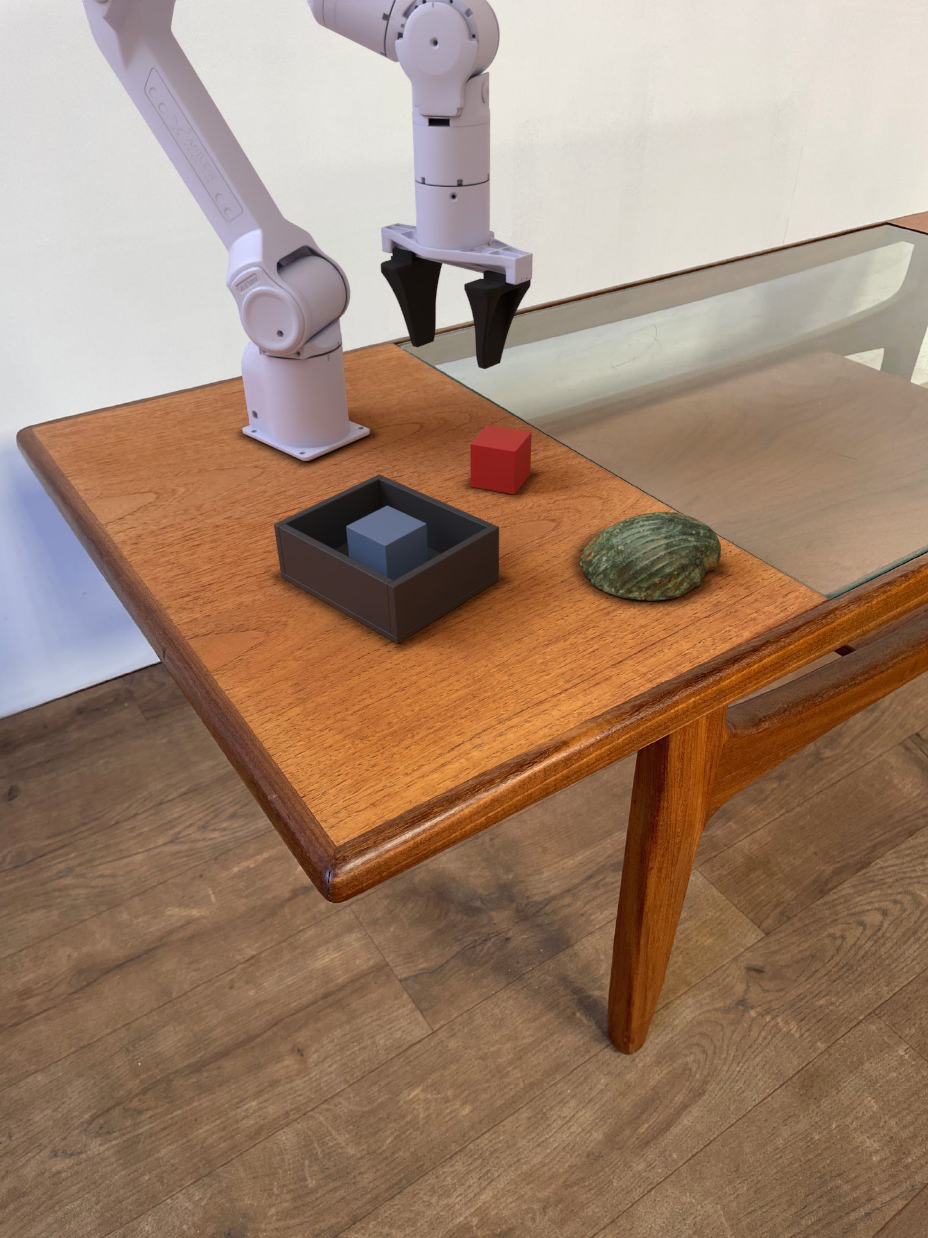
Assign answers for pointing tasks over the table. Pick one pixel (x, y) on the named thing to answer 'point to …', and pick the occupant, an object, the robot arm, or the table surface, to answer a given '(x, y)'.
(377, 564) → the blue block
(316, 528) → the bin
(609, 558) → the seashell
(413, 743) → the table surface
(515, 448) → the red block
